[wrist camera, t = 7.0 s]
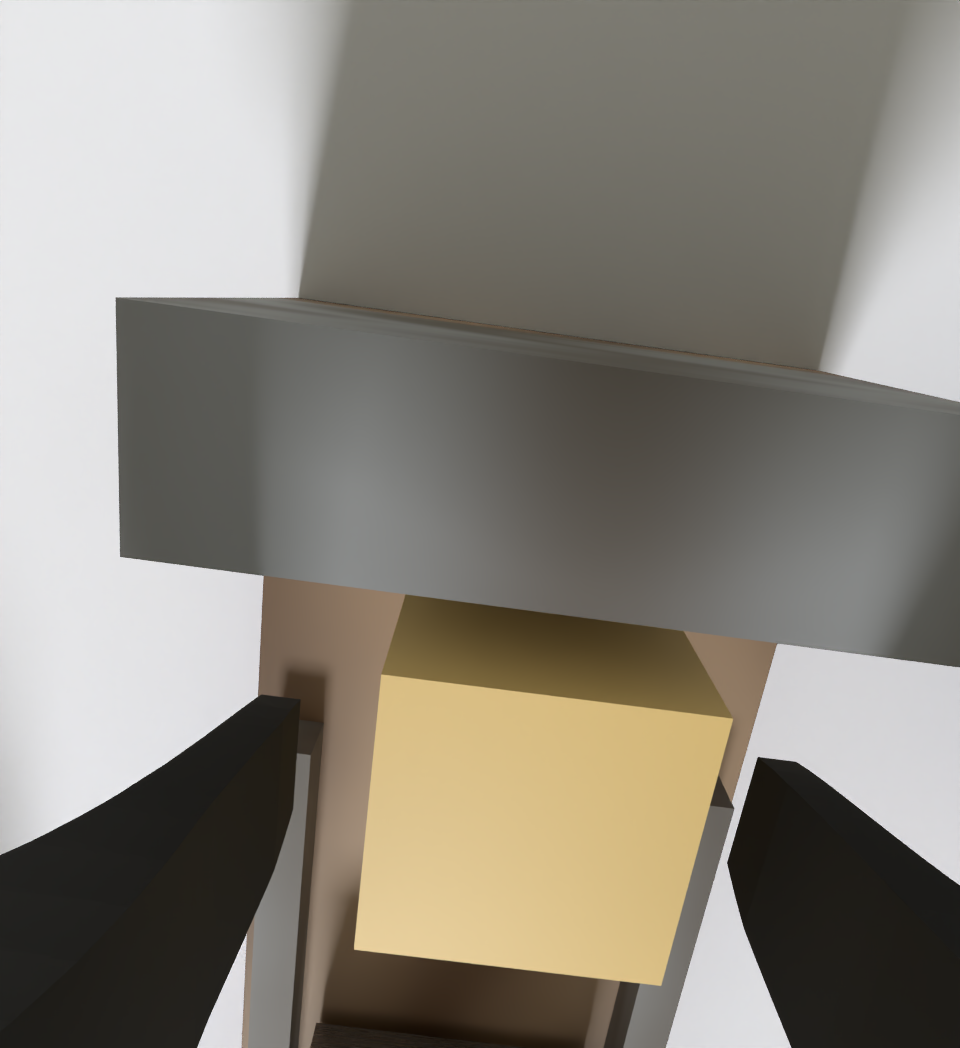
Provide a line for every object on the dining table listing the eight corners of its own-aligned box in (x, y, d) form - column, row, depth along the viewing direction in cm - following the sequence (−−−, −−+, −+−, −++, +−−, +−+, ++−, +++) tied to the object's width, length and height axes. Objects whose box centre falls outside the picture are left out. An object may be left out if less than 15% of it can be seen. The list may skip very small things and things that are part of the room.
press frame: (252, 1111, 22) (136, 1500, 15) (297, 297, 15) (115, 296, 8) (607, 1152, 22) (660, 1556, 15) (819, 370, 15) (1108, 435, 8)
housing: (403, 718, 16) (353, 949, 10) (425, 529, 15) (380, 674, 9) (602, 743, 16) (660, 986, 10) (641, 556, 15) (733, 718, 9)
